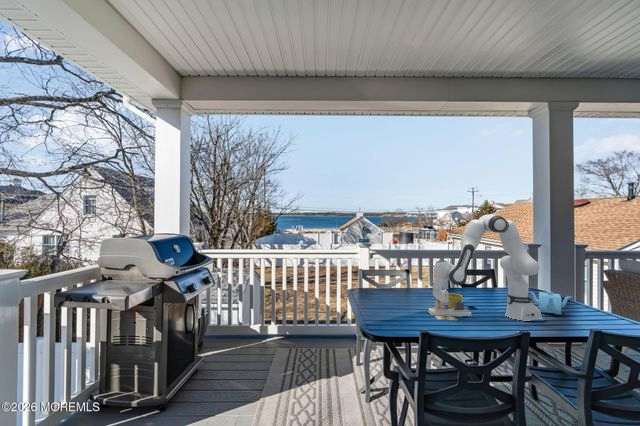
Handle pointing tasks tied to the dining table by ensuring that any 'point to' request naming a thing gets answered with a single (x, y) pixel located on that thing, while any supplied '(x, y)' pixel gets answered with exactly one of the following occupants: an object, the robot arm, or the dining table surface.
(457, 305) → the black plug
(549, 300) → the teakettle
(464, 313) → the power strip
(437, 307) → the orange charger
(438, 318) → the cork mat
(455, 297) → the plant pot
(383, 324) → the dining table surface
